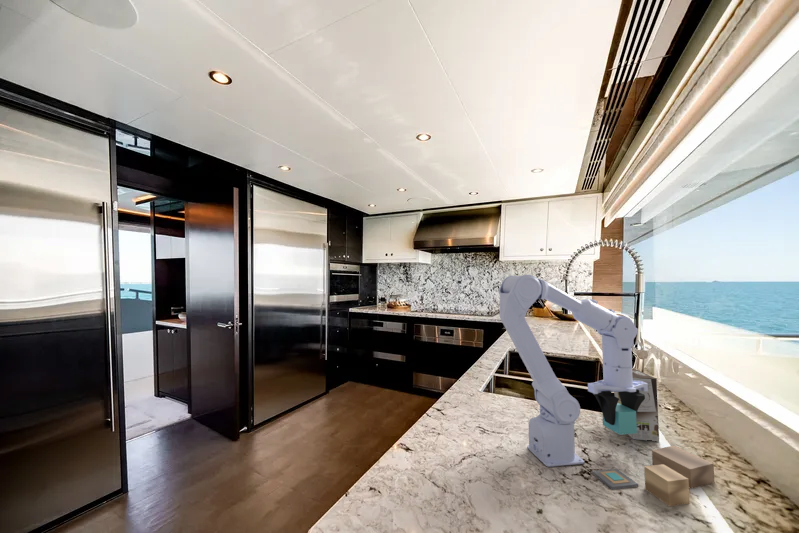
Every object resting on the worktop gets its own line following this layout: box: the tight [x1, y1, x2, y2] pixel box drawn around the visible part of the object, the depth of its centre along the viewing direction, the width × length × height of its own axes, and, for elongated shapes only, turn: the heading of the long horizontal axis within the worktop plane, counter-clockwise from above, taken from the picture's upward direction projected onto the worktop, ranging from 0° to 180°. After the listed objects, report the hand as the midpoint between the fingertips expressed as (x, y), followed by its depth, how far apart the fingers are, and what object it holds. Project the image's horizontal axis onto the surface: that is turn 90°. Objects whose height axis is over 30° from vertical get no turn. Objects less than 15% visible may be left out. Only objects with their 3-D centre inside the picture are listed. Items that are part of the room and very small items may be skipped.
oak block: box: [643, 464, 691, 507], centre depth 56 cm, size 4×4×4 cm
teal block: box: [602, 403, 637, 436], centre depth 70 cm, size 5×5×5 cm
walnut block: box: [651, 445, 715, 490], centre depth 63 cm, size 7×7×4 cm
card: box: [591, 468, 639, 491], centre depth 61 cm, size 6×5×1 cm
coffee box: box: [613, 368, 660, 442], centre depth 81 cm, size 9×6×16 cm
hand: (619, 422), depth 70 cm, fingers closed on teal block, 5 cm apart
